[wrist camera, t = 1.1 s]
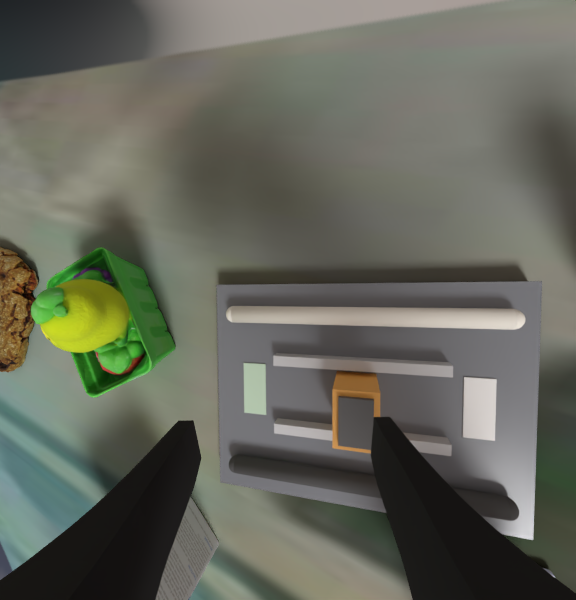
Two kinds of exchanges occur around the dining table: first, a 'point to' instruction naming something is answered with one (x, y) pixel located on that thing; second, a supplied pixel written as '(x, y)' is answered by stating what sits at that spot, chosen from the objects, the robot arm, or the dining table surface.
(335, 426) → the block
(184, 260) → the dining table surface
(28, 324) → the pastry
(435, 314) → the white rounded rod
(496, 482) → the panel
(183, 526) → the light bulb box
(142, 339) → the fruit basket
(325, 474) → the dark grey rounded rod
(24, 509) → the dining table surface
